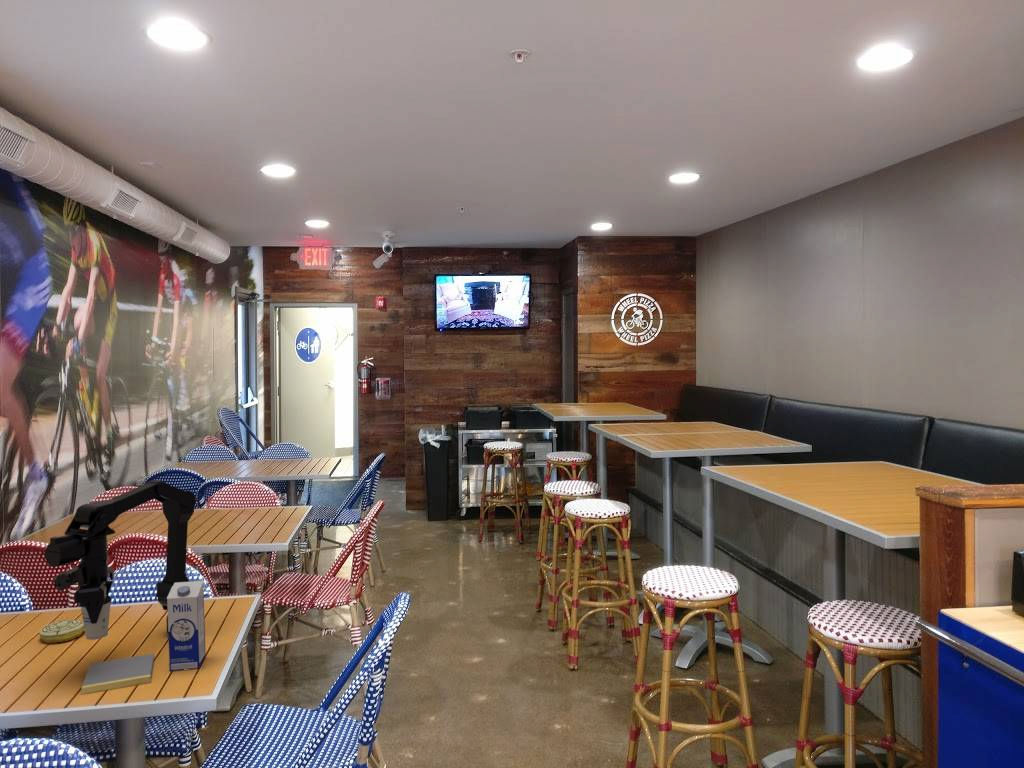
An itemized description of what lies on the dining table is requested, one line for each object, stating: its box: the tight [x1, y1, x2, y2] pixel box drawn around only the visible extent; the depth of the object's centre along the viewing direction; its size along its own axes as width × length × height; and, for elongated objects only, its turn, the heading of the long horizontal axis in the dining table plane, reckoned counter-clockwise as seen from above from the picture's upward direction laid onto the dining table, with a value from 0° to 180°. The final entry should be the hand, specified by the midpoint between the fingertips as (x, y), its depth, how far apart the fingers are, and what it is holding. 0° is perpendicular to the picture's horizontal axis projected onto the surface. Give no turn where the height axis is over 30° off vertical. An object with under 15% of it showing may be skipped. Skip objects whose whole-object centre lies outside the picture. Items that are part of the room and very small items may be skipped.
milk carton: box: [167, 580, 206, 672], centre depth 176 cm, size 7×7×20 cm
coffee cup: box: [79, 595, 113, 641], centre depth 175 cm, size 7×7×10 cm
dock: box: [81, 653, 155, 695], centre depth 171 cm, size 14×14×2 cm
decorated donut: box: [38, 619, 85, 644], centre depth 195 cm, size 10×11×4 cm
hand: (96, 618), depth 175 cm, fingers closed on coffee cup, 7 cm apart
